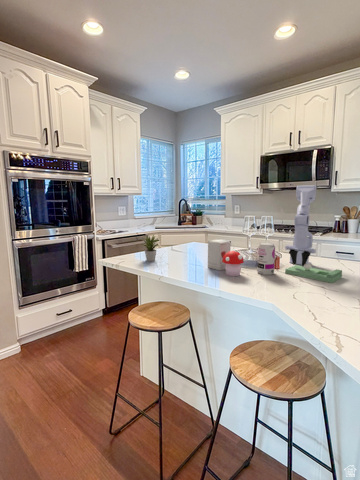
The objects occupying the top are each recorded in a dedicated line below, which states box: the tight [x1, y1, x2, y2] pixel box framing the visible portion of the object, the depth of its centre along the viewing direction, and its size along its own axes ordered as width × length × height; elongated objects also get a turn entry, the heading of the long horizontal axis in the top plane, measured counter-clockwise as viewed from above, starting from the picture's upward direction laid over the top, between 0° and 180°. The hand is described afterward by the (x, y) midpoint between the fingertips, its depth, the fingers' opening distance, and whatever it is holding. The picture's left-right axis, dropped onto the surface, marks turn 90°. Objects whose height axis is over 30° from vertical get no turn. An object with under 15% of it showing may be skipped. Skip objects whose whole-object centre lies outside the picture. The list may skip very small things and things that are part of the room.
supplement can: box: [256, 242, 276, 276], centre depth 138 cm, size 8×8×15 cm
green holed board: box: [284, 264, 343, 284], centre depth 134 cm, size 22×12×4 cm, turn 42°
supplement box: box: [207, 238, 232, 271], centre depth 149 cm, size 9×9×15 cm
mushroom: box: [222, 249, 245, 277], centre depth 136 cm, size 11×11×12 cm
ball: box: [303, 263, 312, 270], centre depth 136 cm, size 4×4×4 cm
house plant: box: [140, 234, 162, 262], centre depth 166 cm, size 14×14×16 cm
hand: (299, 265), depth 139 cm, fingers open, 4 cm apart
